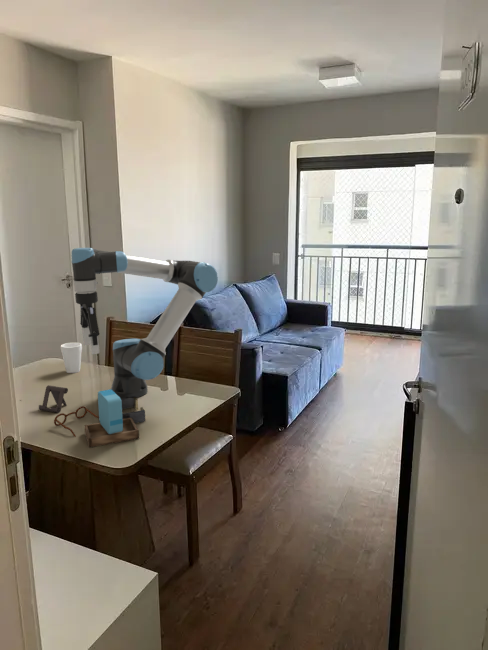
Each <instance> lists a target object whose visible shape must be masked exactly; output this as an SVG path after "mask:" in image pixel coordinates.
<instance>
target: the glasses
mask: <svg viewBox="0 0 488 650" xmlns="http://www.w3.org/2000/svg"><path fill="white" fill-rule="evenodd" d="M81 409H84V413H83V415H80V416H78V411H80V410H81ZM87 413H89V414H90V415H92V416H93V417H95V418H96V419H99V415H97V414H95V413H93V412H92V411H91V410H89V408H87V406H84V405H83V406H79V407H78V408H77V409H76V410H75V411H72V412H69V413H67V414H66V413H63V412H62V413H61V412H60V413H58V414H57V415H56V416H55V417H54V420H53V424H54V426H56V427H59V426H61V427H63V429H66V430H68V431H70V433H71V435H72V436H73V437H75V438H76V437H77V436H76V434H75V432H74V431H73V430H72V429H71V428H70V427H68V426H66V425H64V424H65V423H66V422H67V417H68V416H71V415H75V418H77V420H78V419H82V418H84V417H85V416H86V414H87ZM60 416H64V419H63V421H62V422H61V421H59V420H58V418H59V417H60Z"/></svg>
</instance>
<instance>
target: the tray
mask: <svg viewBox="0 0 488 650" xmlns="http://www.w3.org/2000/svg"><path fill="white" fill-rule="evenodd" d="M122 420H123V431H121V432H117V433H113V434H108V432H107V431H106V430H105V429H104V428H103V426H102V425H101V424H100V422H96V423H90V424H89V423H88V424H85V425H84V435H85V437H86V442H87V445H88V448H89V449H90V448H94V447H100V446H101V447H102V446H105V445H106V446H107V445H112V444H116V443H117V444H118V443H123V442H128V441H134V439H135V440H139V439H140V433H139V431H140V430H139V428H138V427H137V424H136V423H134V421H133V419H132V418H126V419H122ZM138 438H139V439H138Z"/></svg>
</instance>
